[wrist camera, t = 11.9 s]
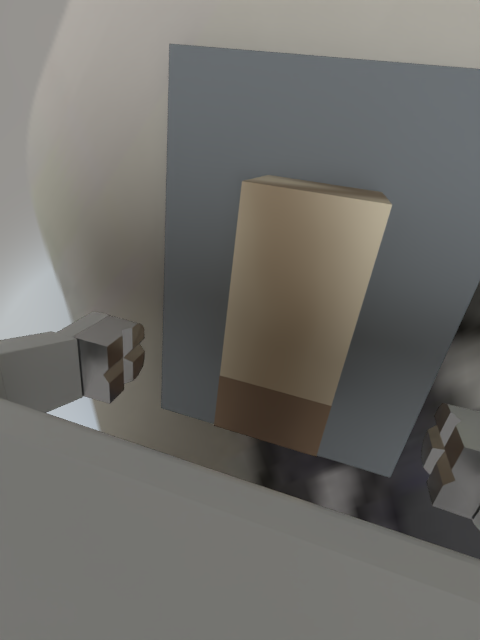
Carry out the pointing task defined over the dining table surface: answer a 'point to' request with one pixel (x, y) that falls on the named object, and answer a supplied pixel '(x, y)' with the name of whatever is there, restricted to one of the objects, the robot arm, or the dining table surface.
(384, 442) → the mat
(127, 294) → the dining table surface
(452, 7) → the dining table surface
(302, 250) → the tan rectangular block
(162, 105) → the dining table surface
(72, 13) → the dining table surface
